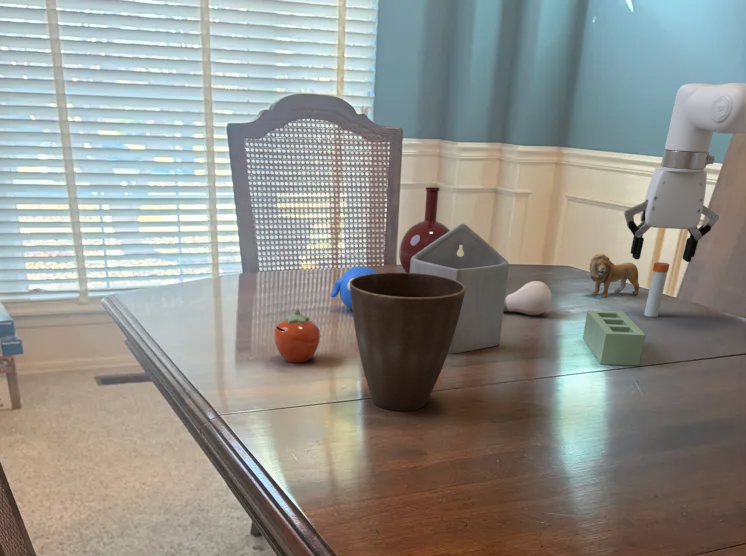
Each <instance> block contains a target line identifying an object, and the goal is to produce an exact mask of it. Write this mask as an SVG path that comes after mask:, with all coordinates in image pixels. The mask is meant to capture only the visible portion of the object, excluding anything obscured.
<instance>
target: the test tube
mask: <svg viewBox="0 0 746 556" xmlns="http://www.w3.org/2000/svg"><path fill="white" fill-rule="evenodd" d="M669 270H670V264H669V263H667V262H661V261H660V262H654V263H653V267H652V276H651V279H650V285H649V290H648V293H647V299H646V303H645V308H644V311H643V316H644V317H648V318H658V316H659V312H660V307H661V304H662V303H661V302H662V297H663V293H664V289H665V285H666V280H667V275H668V272H669Z"/></svg>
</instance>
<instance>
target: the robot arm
mask: <svg viewBox="0 0 746 556" xmlns="http://www.w3.org/2000/svg"><path fill="white" fill-rule="evenodd" d="M714 133H718V134H728V135H729V134H746V82H729V83H722V84H714V83H713V84H712V83H685V84H683V85H681V86H680V87H679V88H678V89H677V91H676V94H675V98H674V104H673V108H672V112H671V117H670V122H669V126H668V131H667V136H666V141H665V145H664V149H663V154H662V158H661V163H660V167H657V168H654V171H653V173H652V176H651V179H650V181H649V185H648V188H647V191H646V194H645V197H644V201H643V202H641V203H639V204H636V205H635V206H632V207H630V208H628V209H626V210H624V212H623V215H624V219H625V222H626V226H627V228H628V229H629V231H630V232H631V234H632V235H633V238H632V242H631V248H630V254H631V255H632V256H631V257H632V258H633V259H634V260H640V258H641V254H642V250H643V245H644V240H645V238H644V237H643V235H644V234H645V233H646V232H647V231H649V229H651V228H655V229H673V230H675V229H676V230H686V231H687V232H688V233H689V237H687V238H686V241H685V244H684V245H685V246H684V250H683V253H682V258H681V259H683V261H685V262H687V263H691V262H692V258H694V257H695V255H696V251H697V247H698V244H699V241H701V239H702V238H703V237H704V236H705V235H706V234H708V233H709V232H710V231H711V230H712V228H713V227H714V226H715V224H716V223H717V221H718V220H719V219H720V215H718V213H716V212H714V211H713V210H711V208H708V207H707V206H706V205H704V204H705V197H706V189H707V176H708V172H707V171H706V170H705V169H706V167H707V166H709V165H714V163H715V159H716V157H715V155H710V152H709V150H710V147H711V142H712V139H713V134H714ZM638 214H640V218H639V219H640V223H639V224H638V225H637V223H636V222H635V219H634V217H635V216H636V215H638ZM702 216H705V217H706V218H707V219H706V221H705V223H703V224H701V226H699V225H700V222H701V218H702ZM698 226H699V227H698Z"/></svg>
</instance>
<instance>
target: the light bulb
mask: <svg viewBox="0 0 746 556" xmlns="http://www.w3.org/2000/svg"><path fill="white" fill-rule="evenodd" d="M552 297H553V296H552V292H551V288H550V287H549V286H548V285H547V284H546V283H545V282H543V281H540V280H532V281H530V282H527V283H525V284H524V285H522V286H521V288H519V289H517V290H516V291H514V292H511V293H509V294H508V295H507V296H505V301H504V309H503V313H504V312H510V313H511V312H518V313H520V314H521V313H522V314H525V315H528V316H539V315H541V314H544V313H545V312H546V311H547V310H548V309H549V307H550V305H551V303H552Z"/></svg>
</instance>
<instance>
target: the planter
mask: <svg viewBox="0 0 746 556" xmlns="http://www.w3.org/2000/svg"><path fill="white" fill-rule="evenodd" d="M460 246H462V248H461V250H462V252H463V255H461V256H459V255H458V251H459V250H460ZM509 265H510V264H509V261H508V260H507V259H506V258H505V257H504V256H503V255H502V254H500V253H499V252H498V250H496V249H495V248H494V247H493V246H492V245H490V244H489V243H488V242H487V241H486V240H484V238H482V237H481V236H480V235H479V234H478V233H477V232H475V230H473V229H472V228H470V227H469V226H468V225H467V224H466V223H460V224H458V225H457V226H455V227H453V228H452V229H450V231H449V232H448V233H446V234H445V235H443V236H442V237H440V238H439V239H437V240H436V241H434V242H433V243H431V244H430V245H428V246H427V247H425V248H424V249H423V250H421V251H420V252H418V253H417V254H415V255H414V256H413V257H412V258H411V264H410V273H420V274H429V275H436V276H441V277H446V278H450V279H453V280H456V281H459V282H461V283H463V284H464V285H465V287H466V290H465V294H464V299H463V303H462V307H461V311H460V315H459V319H458V323H457V326H456V330H455V333H454V336H453V339H452V342H451V345H450V348H449V351H448V354H447V355H454V354H459V353H460V354H461V353H466V352H472V351H478V350H483V349H487V348H493V347H497V346H499V345H500V343H501V342H500V341H501V334H502V333H501V332H502V325H503V319H504V318H503V316H504V312H503V309H504V301H505V297H506V293H507V285H508V278H509V277H508V276H509V268H510V267H509Z"/></svg>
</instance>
